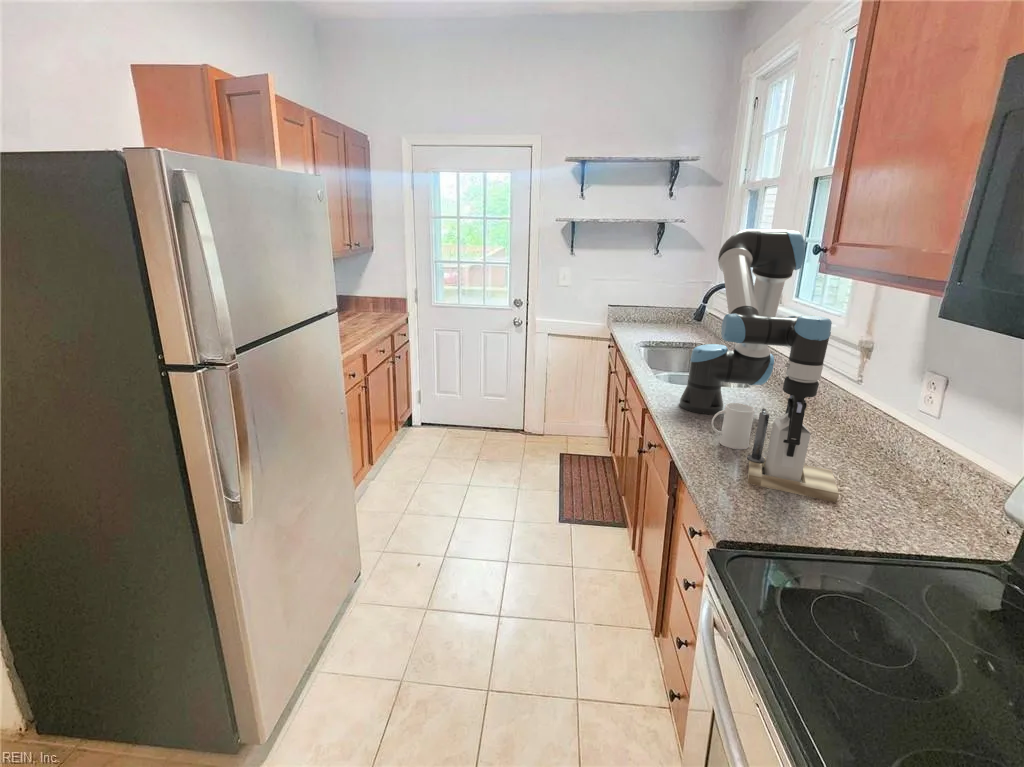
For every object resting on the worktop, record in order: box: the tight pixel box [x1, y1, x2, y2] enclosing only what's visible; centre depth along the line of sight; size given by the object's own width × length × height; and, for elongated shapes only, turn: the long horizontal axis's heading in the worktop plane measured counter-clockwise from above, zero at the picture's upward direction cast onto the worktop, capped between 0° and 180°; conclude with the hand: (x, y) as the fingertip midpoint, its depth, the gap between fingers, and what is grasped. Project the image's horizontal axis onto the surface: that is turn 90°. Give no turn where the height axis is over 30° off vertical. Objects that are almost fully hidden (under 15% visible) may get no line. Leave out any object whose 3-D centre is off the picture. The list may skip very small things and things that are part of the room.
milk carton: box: [763, 412, 812, 482], centre depth 132 cm, size 7×7×19 cm
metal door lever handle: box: [746, 407, 770, 463], centre depth 140 cm, size 7×4×16 cm, turn 155°
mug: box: [711, 402, 756, 450], centre depth 156 cm, size 12×8×12 cm
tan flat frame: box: [747, 456, 840, 503], centre depth 134 cm, size 14×20×2 cm
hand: (785, 456), depth 133 cm, fingers open, 12 cm apart
